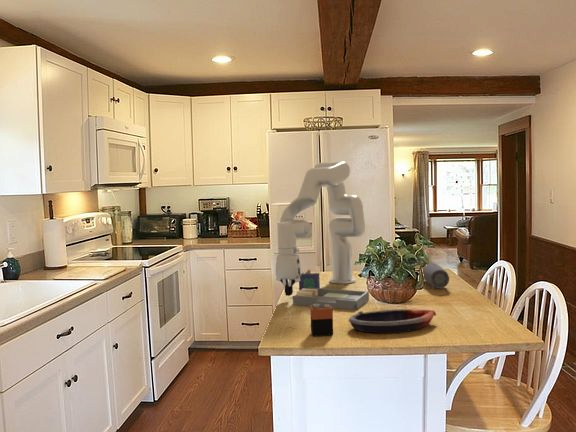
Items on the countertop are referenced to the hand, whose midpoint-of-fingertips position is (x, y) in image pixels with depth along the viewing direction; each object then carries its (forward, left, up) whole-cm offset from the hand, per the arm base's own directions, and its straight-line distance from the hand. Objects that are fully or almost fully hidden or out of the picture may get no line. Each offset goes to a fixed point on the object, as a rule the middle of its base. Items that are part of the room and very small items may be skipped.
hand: (288, 294), depth 211 cm
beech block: (0, +8, -1) cm, 8 cm away
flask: (-16, +2, -3) cm, 17 cm away
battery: (+37, +29, -3) cm, 47 cm away
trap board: (-4, +17, -3) cm, 18 cm away
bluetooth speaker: (-47, +51, -3) cm, 69 cm away
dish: (+22, +49, -3) cm, 54 cm away
